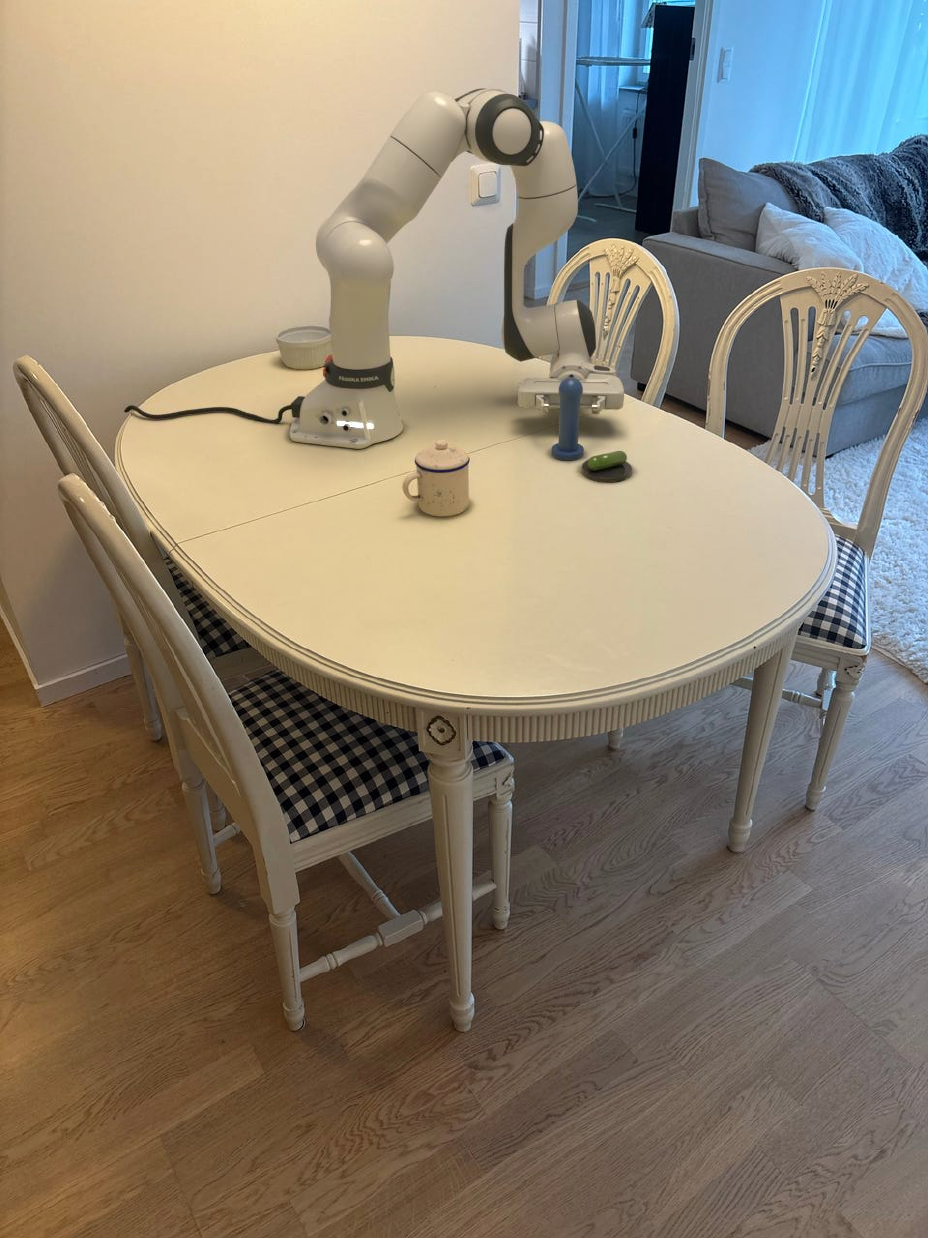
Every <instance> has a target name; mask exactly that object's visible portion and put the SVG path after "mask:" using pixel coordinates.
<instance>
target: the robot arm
mask: <svg viewBox="0 0 928 1238" xmlns="http://www.w3.org/2000/svg"><path fill="white" fill-rule="evenodd" d="M465 152H466V153H468V154H471V155H474V157H476V158H478V159H480V160H482V161H484V162H488V163H493V164H496V165H500V166H509V167H510V168H511V171H512V174H513V177H514V182H515V190H516V198H517V209H516V210H517V211H516V215H515V218H514V221H513V223H511V224H510V225H509V226H508V227H507V228H506V231H505V236H504V247H503V248H504V249H503V250H504V251H503V252H504V253H503V319H502V325H501V343H502V346H503V349H504V351H505V354H507V355H508V356H509V357H511V358H513V359H514V360H516V361H518V362H525V361H529V360H533V359H537V358H540V357H546V356H551V360H550V365H549V374H548V375H549V376H548V377H528V378H525V379H523V380H522V382H519V383H518V385H517V405H518V406H519V407H520V408H522V409H523V408H524V409H538V410H540V414H549V413H550V409H560V395H559V392H558V389H559V385H560V383H561V382H562V381H563V380H564V379H566V378H569V377H573V378H576V379H578V380H579V381H580V382H581V384H582V386H583V393H582V396H581V397H580V410H591V415H600V412H602V411H603V410H613V411H618V410H621V409H623V407H624V400H625V387H624V385H623V382H622V380H621V379H620V377H618V376H617V371H616V368H613V367H608V366H602V365H596V364H593V359H592V357H593V356H594V353H595V351H596V349H597V337H596V335H597V334H596V326H595V320H594V316H593V313H592V310H591V309H590V308H589V307H588V306H587V305H586V304H585V303H584V302H583V301H581V300H579V299H573V300H567V301H566V300H565V301H560V302H554V303H552V304H546V305H539V306H534V307H528V306H526V305H525V268H526V265H527V263H528V262H529V260H530V259H531V258H532V257H533V256H535V255H536V254H538V253H539V252H540V251H542V250H543V249H545V248H546V247H548V246H550V245H551V244H553V243H555V242H556V241H558V240H560V238H562V237H563V236H564V235H565V234H566V233H567V232H568V231H569V230H570V229H571V227H572V226H573V225H574V223H575V221H576V218H577V216H578V212H579V209H578V208H579V195H578V185H577V184H578V183H577V177H576V171H575V165H574V160H573V156H572V152H571V149H570V144H569V140H568V138H567V135H566V132H565V131H564V129H563V127H561V125H559V124H557V123H555V122H553V121H548V120H539V119H538V117H537V116H536V114H535V113H534V112H533V110H532V108H531V107H530V106H529V104H528V103H527V102H526V101H524V99H522V98H521V97H520V96H517V95H515V94H512V93H508V92H507V91H505V90H502V89H497V88H484V87H483V88H476V89H473V90H470V91H468V92H466V93H464V94H462V95H461V96H459V97H456V98H453V97H452V96H450V95H449V94H446V93H444V92H442V91H438V90H430V91H427V92H425V93H423V94H422V95H421V96H420V97H419V98H418V99H417V100H416V101H415V102H414V103H412V106H410V108H409V109H407V112H406V113H404V115H403V116H402V117H401V119H400V120H399V121H398V123H397V124H396V125H395V127H394V128H393V130H392V132H391V133H390V134H389V136H388V138H387V139H386V141H385V143H384V144H383V146H382V147H381V148H380V150H379V152H378V153H377V155H376V157H375V158H374V160H373V161H372V162H371V164H370V166H369V168H368V169H367V170H366V171H365V173H364V175H363V176H362V178H361V179H360V180H359V181H358V183H357V184H356V185H355V186H354V188H352V190H351V191H350V192H349V193H348V194H347V195H346V197H344V199H343V200H342V201H341V202H340V203H339V205H338V206H337V207H336V209H335V210H333V212H332V214H331V215H330V216H328V218H326V219H325V220H324V221H323V222H322V223H321V224H320V226H319V227H318V229H317V232H316V237H315V251H316V256H317V258H318V261H319V263H320V264H321V266H322V268H323V269H325V271H327V274H328V277H329V283H330V284H329V285H330V307H329V309H330V310H329V312H330V313H329V318H328V326H329V327H328V328H330V337H331V347H332V355H329V356H328V357H327V359H326V360H325V364H324V366H322V377H323V378H324V379H323V381H321V382H320V383H319V384H317V385H316V386H315V387H314V388H313V389H312V390H310V391H309V392H308V393H307V394H306V396H305V395H304V396H303V395H302V396H301V395H298V396H297V397H296V398H295V399H294V400H293V401H292V402H291V403H290V404H288V405H285V406H283V407H281V408H280V409H279V410H278V412H277V418H274V419H268V418H265V417H262V416H260V415H257V414H254V413H249V412H247V411H243V410H241V409H238V408H235V407H228V406H211V407H203V408H201V407H200V408H192V409H185V410H178V411H175V412H169V413H161V414H152V413H148V412H146V411H143V410H142V409H141V408H139V407H138V406H136V405H133V404H132V405H131V404H130V405H128V406H126V407H125V409H124V410H123V413H126V414H127V413H129V412H131V411H135V412H136V413H138V414H139V415H141V416H142V417H144V418H147V419H149V420H165V419H172V418H177V417H181V416H188V415H194V414H195V415H197V414H204V413H212V412H227V413H234V414H237V415H240V416H242V417H245V418H249V419H252V420H256V421H258V422H260V423H266V424H272V425H276V424H279V423H280V422H282V420H283V414H284V413H285V412H287V411H291V417H292V418H294V420H293V422H292V423H291V425H290V427H289V438H290V440H291V441H292V442H295V443H303V444H304V443H305V444H312V445H322V446H331V447H340V448H346V449H356V450H358V449H359V450H360V449H364V448H367V447H369V446H371V445H374V444H378V443H382V442H385V441H388V440H391V439H394V438H395V437H397V436H399V435H400V434H401V433H402V432H403V430H404V424H403V421H402V419H401V416H400V412H399V409H398V404H397V400H396V395H395V386H396V377H395V376H396V375H395V374H396V373H395V365H394V359H393V357H392V356H391V345H390V327H389V313H390V312H389V311H390V310H389V309H390V300H391V289H392V279H393V277H394V270H395V268H394V267H395V266H394V260H393V255H392V252H391V250H390V249H391V248H390V247H389V245H388V243H389V242H390V241H391V240H392V239H393V238H394V237H395V236H396V235H397V234H398V232H400V230H402V229H403V228H404V227H405V226H407V224H409V223H410V222H412V221H413V220H414V219H415V218H416V217H418V214H419V213H420V212H421V210H422V209H423V208H424V206H425V204H426V202H427V201H428V200H429V198H430V197H431V195H432V194H433V192H434V190H435V189H436V188H437V186H438V184H439V182H440V181H441V180H442V178H443V176H444V175H445V173H446V172H447V171H448V168H449V167H450V165H451V164H452V163H453V162H454V161H455V159H456V158H457V157H458V156H460V155H461V154H463V153H465Z"/></svg>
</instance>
